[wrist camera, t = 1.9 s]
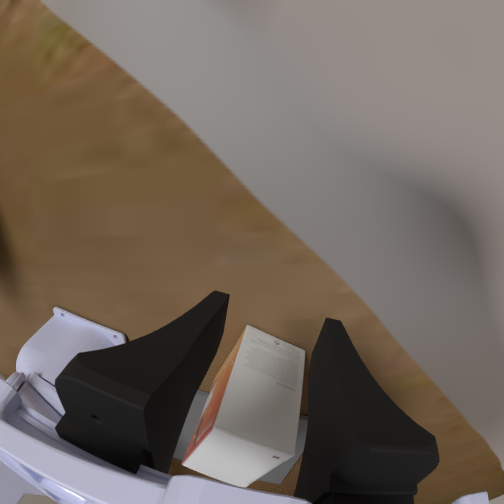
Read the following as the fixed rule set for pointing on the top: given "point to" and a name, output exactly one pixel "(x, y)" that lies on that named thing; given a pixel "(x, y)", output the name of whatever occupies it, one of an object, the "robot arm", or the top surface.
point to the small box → (250, 411)
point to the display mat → (272, 476)
